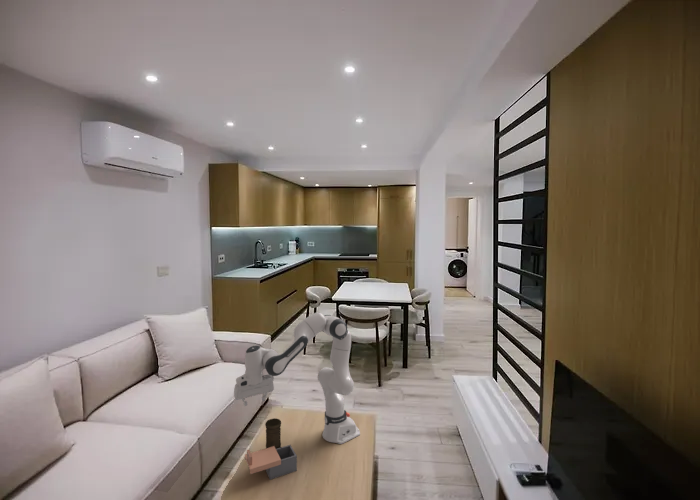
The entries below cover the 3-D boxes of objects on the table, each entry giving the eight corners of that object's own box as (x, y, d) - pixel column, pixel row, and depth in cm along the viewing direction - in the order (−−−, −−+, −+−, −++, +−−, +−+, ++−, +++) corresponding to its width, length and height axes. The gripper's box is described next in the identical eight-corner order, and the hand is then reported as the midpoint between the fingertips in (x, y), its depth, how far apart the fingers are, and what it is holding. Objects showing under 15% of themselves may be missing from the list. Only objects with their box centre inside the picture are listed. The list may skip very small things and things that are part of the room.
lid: (274, 450, 186) (274, 438, 185) (280, 464, 175) (281, 452, 175) (244, 459, 179) (244, 447, 178) (250, 474, 168) (250, 461, 168)
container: (277, 460, 188) (277, 428, 186) (262, 458, 190) (262, 426, 188) (284, 449, 197) (284, 418, 195) (269, 447, 199) (269, 416, 197)
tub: (290, 458, 190) (290, 444, 189) (296, 470, 181) (296, 455, 180) (264, 467, 183) (264, 452, 182) (269, 479, 174) (269, 464, 173)
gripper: (271, 370, 192) (272, 395, 194) (232, 379, 182) (233, 404, 184) (275, 375, 187) (275, 400, 188) (235, 384, 177) (236, 410, 178)
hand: (254, 402), depth 186 cm, fingers open, 8 cm apart
